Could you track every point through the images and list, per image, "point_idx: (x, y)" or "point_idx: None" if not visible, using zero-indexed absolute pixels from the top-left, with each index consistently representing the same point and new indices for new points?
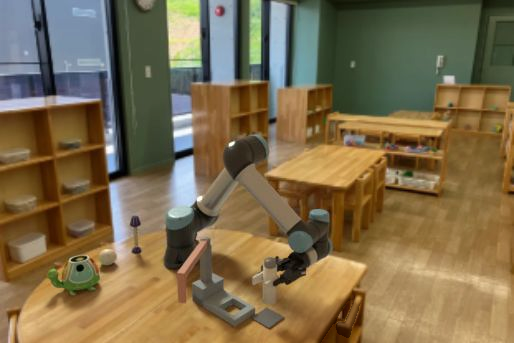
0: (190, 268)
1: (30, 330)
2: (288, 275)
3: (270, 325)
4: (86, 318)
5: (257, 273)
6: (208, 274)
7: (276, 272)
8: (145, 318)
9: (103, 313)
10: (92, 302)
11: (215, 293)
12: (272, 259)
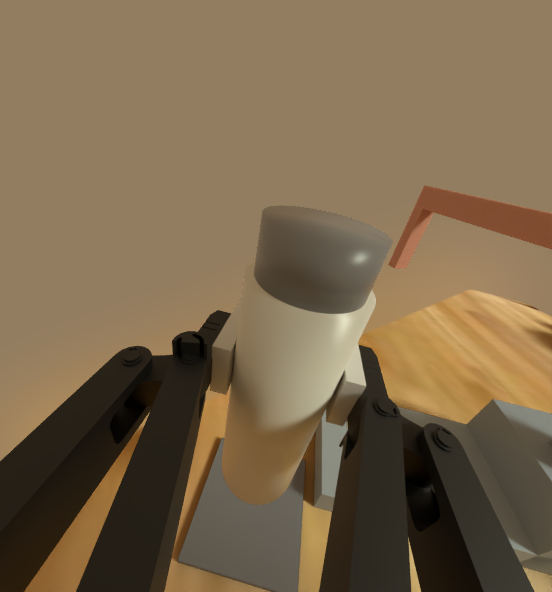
0: (462, 209)
1: (485, 296)
2: (118, 394)
3: (221, 451)
4: (493, 322)
5: (372, 351)
6: None
7: (239, 322)
8: (458, 349)
9: (501, 336)
10: (548, 348)
11: (502, 487)
12: (317, 227)
